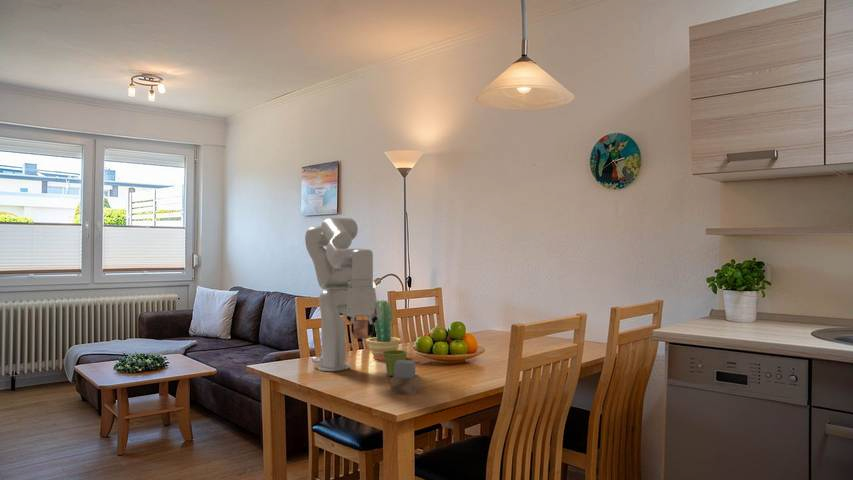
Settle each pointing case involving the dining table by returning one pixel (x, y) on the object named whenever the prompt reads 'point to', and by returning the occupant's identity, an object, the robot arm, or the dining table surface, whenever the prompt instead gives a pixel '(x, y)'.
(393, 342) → the potted cactus
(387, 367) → the plant pot
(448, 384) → the dining table surface
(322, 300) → the robot arm
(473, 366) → the dining table surface
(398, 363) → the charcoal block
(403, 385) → the walnut base block
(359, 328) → the brownish pink block
